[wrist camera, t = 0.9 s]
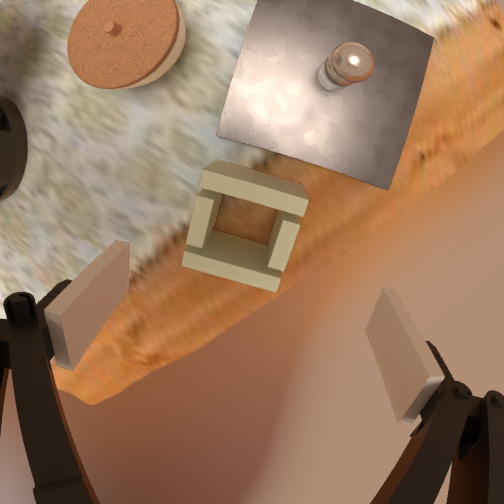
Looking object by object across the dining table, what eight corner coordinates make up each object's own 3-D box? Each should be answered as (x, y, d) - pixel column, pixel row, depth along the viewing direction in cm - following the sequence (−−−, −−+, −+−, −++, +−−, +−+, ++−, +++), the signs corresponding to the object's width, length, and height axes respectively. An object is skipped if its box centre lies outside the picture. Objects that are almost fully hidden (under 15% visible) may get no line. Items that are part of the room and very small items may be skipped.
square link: (197, 238, 36) (181, 265, 29) (217, 159, 32) (202, 169, 26) (276, 260, 36) (276, 292, 30) (301, 184, 33) (309, 200, 26)
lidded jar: (114, 6, 26) (70, -18, 17) (205, 2, 26) (182, -34, 17) (98, 93, 30) (48, 90, 21) (189, 95, 30) (158, 87, 21)
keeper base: (218, 135, 31) (192, 142, 21) (266, -19, 24) (263, -72, 14) (383, 187, 32) (427, 218, 22) (427, 40, 25) (482, 18, 15)
